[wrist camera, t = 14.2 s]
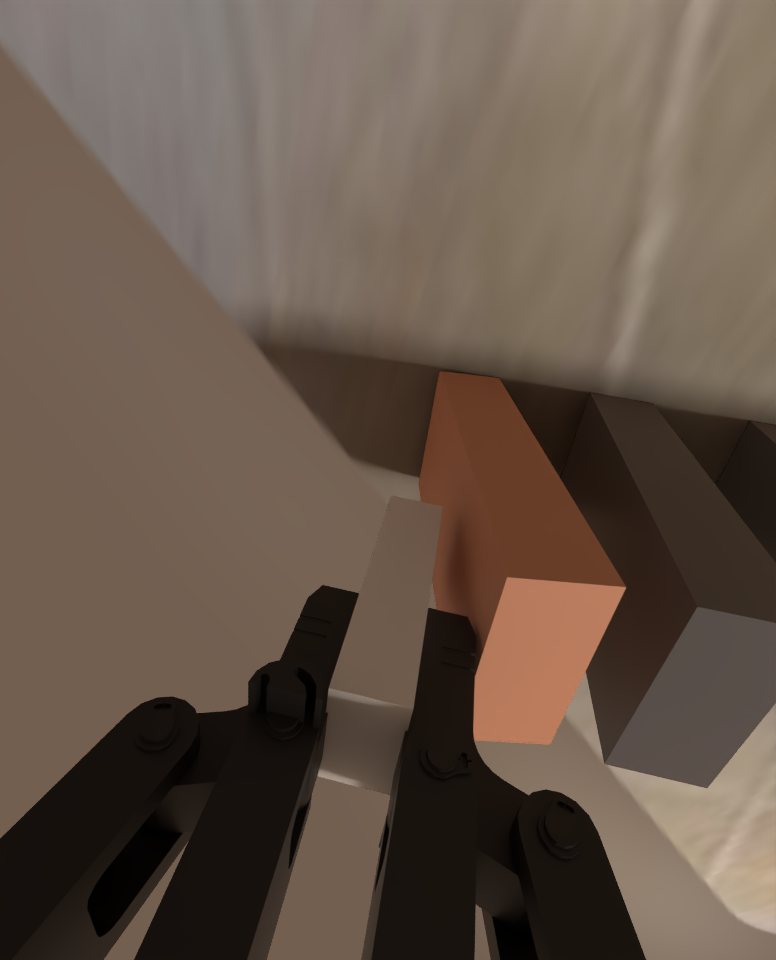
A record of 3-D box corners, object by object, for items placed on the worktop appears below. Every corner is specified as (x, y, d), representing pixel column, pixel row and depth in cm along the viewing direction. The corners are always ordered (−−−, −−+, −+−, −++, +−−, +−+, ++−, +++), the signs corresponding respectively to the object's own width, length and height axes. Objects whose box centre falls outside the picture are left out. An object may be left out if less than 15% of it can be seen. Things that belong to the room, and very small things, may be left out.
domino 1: (418, 483, 23) (455, 739, 12) (439, 370, 20) (507, 576, 10) (471, 488, 23) (550, 744, 13) (498, 377, 20) (626, 587, 10)
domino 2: (551, 503, 23) (604, 764, 12) (590, 392, 20) (698, 606, 10) (607, 514, 22) (707, 788, 12) (653, 403, 20) (830, 634, 10)
